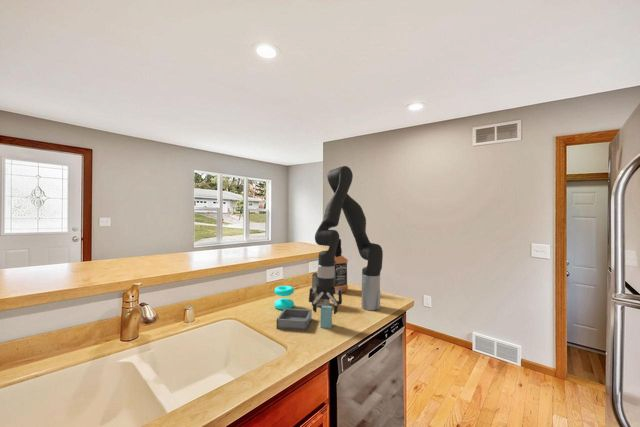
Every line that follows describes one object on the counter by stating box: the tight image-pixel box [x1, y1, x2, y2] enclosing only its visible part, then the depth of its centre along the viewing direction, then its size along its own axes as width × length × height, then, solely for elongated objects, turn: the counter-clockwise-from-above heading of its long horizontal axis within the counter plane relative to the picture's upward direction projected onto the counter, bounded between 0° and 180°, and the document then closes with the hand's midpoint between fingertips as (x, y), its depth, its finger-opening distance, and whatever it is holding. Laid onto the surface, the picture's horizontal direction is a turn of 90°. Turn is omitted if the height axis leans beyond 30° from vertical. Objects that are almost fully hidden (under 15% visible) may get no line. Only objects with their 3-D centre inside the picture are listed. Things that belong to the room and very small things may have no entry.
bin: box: [276, 308, 313, 332], centre depth 122 cm, size 13×13×4 cm
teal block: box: [319, 305, 333, 329], centre depth 120 cm, size 4×4×8 cm
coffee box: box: [311, 272, 330, 307], centre depth 147 cm, size 9×6×16 cm
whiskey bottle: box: [334, 238, 349, 293], centre depth 171 cm, size 10×10×32 cm
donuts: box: [273, 285, 295, 311], centre depth 142 cm, size 10×10×10 cm
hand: (325, 312), depth 120 cm, fingers open, 8 cm apart
